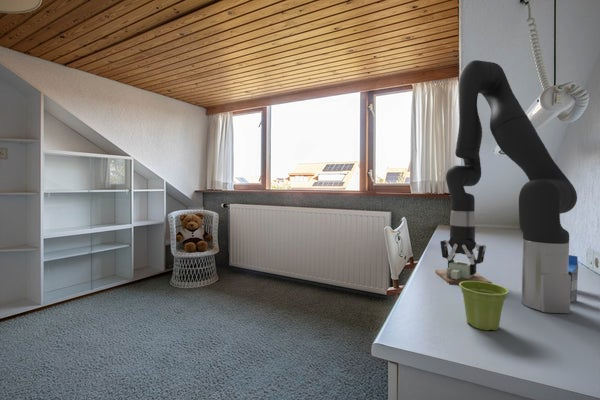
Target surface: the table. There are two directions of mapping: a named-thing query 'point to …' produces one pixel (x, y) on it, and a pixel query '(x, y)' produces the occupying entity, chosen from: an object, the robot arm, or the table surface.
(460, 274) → the square ring with handle
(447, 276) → the locating plate
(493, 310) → the plant pot
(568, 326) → the table surface
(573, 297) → the label tape box
